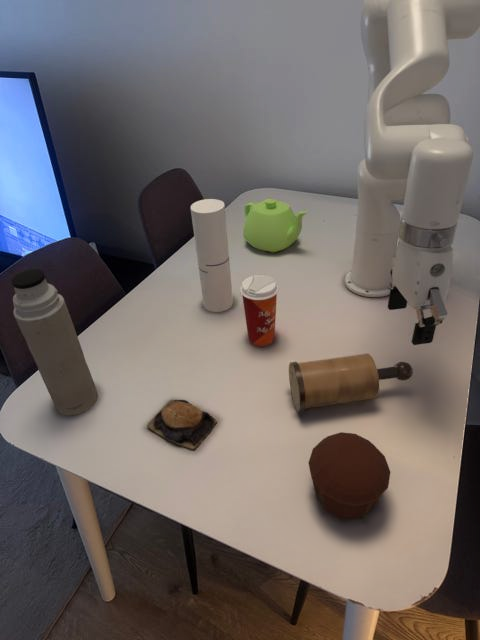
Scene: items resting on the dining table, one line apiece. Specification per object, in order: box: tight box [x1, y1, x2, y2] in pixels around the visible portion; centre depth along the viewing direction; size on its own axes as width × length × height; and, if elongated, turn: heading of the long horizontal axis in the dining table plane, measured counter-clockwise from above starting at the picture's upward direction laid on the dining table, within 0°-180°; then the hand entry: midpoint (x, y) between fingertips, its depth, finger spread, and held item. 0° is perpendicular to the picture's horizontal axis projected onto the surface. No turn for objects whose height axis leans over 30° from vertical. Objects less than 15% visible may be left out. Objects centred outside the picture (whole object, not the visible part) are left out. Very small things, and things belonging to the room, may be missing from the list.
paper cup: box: [239, 274, 279, 347], centre depth 96 cm, size 8×8×14 cm
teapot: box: [242, 198, 309, 253], centre depth 129 cm, size 22×15×13 cm
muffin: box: [308, 432, 391, 521], centre depth 66 cm, size 12×11×10 cm
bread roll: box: [146, 399, 218, 451], centre depth 81 cm, size 11×8×4 cm
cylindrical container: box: [190, 198, 234, 313], centre depth 104 cm, size 7×7×25 cm
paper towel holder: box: [288, 353, 414, 412], centre depth 82 cm, size 9×9×22 cm
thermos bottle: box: [11, 268, 99, 416], centre depth 80 cm, size 8×8×28 cm
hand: (408, 324), depth 77 cm, fingers open, 9 cm apart
